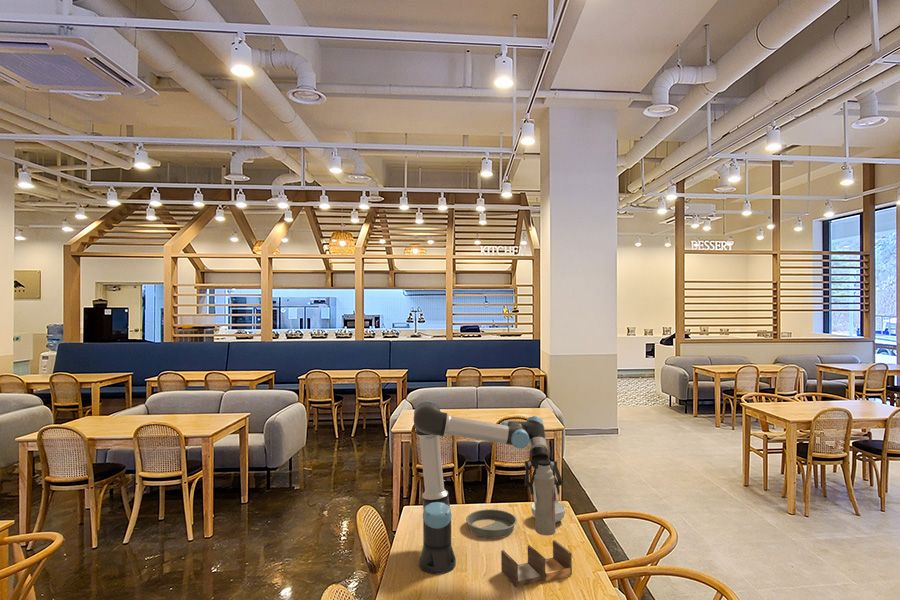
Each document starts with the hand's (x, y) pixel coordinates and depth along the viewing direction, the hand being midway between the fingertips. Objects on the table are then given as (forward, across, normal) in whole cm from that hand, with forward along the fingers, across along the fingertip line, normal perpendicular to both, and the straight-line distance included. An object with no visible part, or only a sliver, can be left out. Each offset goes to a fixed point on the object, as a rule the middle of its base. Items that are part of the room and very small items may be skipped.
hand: (546, 501), depth 198 cm
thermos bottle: (+7, 0, -12) cm, 14 cm away
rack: (+20, +5, -20) cm, 29 cm away
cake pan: (-10, +20, -50) cm, 55 cm away
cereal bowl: (-15, -10, -56) cm, 59 cm away
